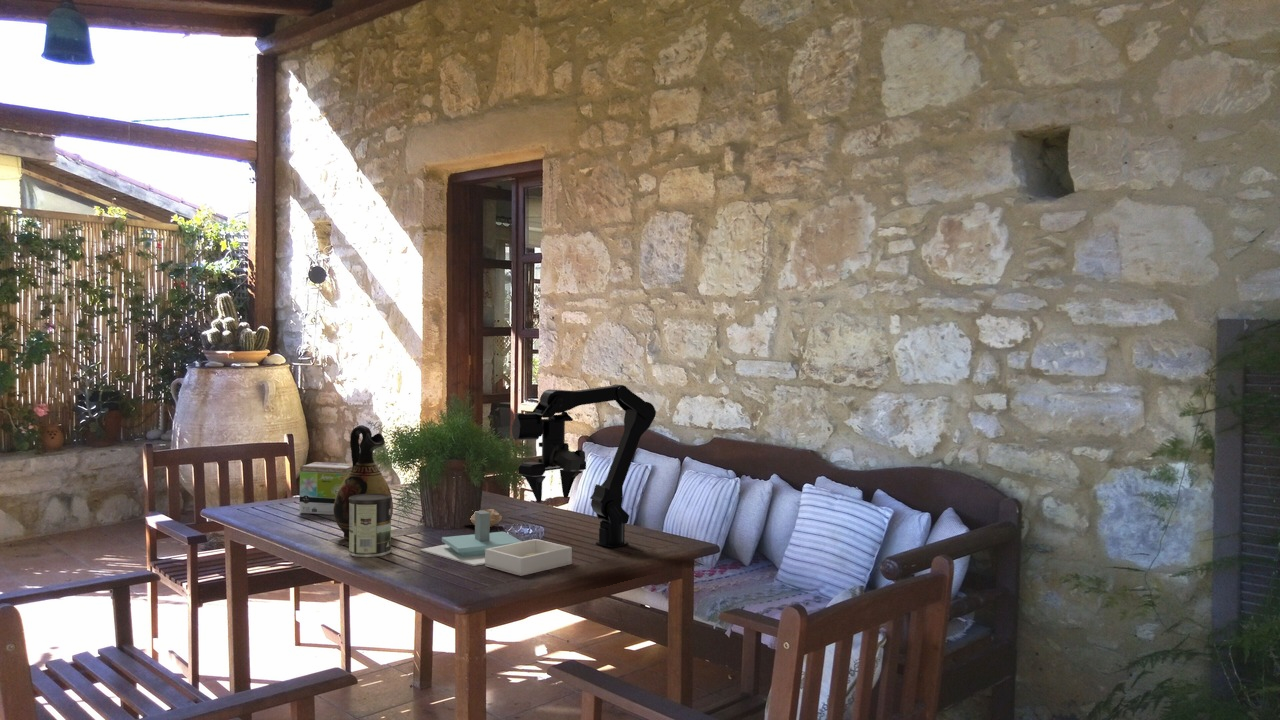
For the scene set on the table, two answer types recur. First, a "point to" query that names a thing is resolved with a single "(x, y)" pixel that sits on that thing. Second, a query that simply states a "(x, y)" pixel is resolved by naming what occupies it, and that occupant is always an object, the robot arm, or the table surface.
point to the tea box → (321, 486)
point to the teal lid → (479, 538)
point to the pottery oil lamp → (494, 517)
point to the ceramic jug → (360, 475)
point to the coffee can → (370, 525)
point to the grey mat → (455, 555)
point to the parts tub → (528, 557)
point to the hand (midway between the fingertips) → (552, 500)
